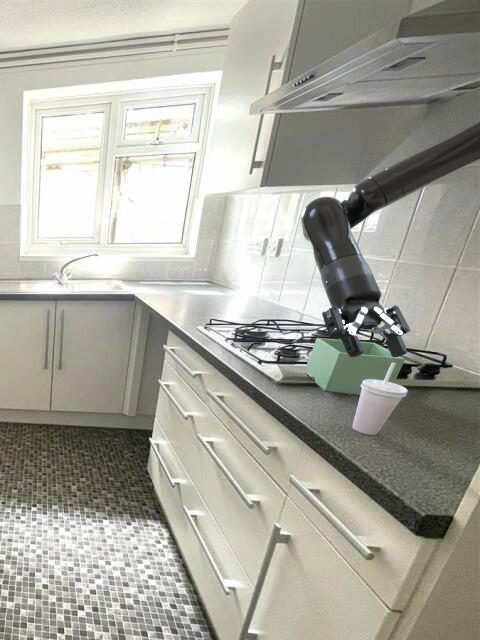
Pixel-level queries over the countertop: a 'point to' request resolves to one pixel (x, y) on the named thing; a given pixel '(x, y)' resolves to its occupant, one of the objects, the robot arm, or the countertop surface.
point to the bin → (350, 365)
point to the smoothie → (377, 403)
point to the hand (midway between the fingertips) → (378, 355)
